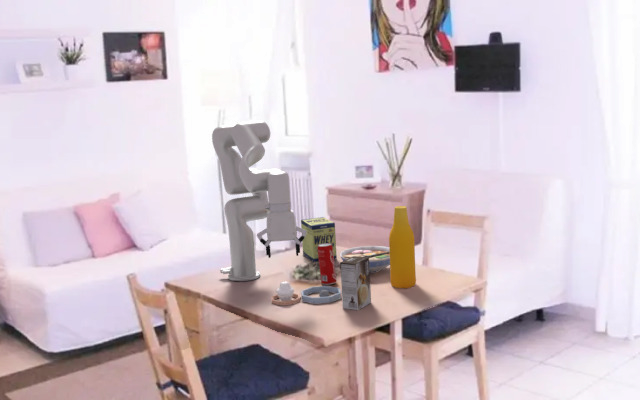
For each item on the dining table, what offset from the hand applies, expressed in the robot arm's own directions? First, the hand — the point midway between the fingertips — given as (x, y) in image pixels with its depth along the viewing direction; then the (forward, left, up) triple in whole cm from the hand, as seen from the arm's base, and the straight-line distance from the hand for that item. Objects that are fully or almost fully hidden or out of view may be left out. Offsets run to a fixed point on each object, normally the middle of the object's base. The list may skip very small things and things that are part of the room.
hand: (283, 256), depth 271 cm
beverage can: (+16, +18, -16) cm, 29 cm away
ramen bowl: (+33, +32, -16) cm, 49 cm away
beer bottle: (+43, +9, -16) cm, 47 cm away
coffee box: (+24, -11, -16) cm, 31 cm away
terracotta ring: (0, 0, -16) cm, 16 cm away
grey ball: (+13, -2, -16) cm, 21 cm away
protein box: (+15, +59, -17) cm, 63 cm away
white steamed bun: (0, 0, -16) cm, 16 cm away
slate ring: (+12, +1, -16) cm, 20 cm away
